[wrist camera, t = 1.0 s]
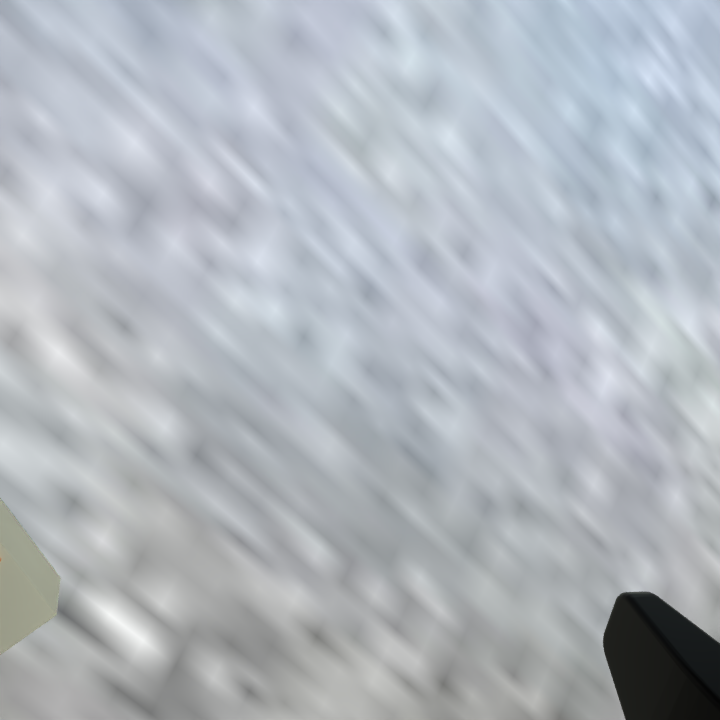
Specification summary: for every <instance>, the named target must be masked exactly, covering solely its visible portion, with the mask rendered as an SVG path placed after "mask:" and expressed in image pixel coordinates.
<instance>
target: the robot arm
mask: <svg viewBox="0 0 720 720" xmlns="http://www.w3.org/2000/svg"><path fill="white" fill-rule="evenodd" d="M603 647H604V652H605V656H606V659H607V662H608V666H609V669H610V672H611V675H612V678H613V681H614V684H615V688H616V691H617V694H618V697H619V700H620V703H621V706H622V710H623V713H624V716H625V719H626V720H720V643H719V642H717V641H716V640H715V639H713V638H712V637H711V636H709V635H708V634H707V633H705V632H704V631H703V630H702V629H700V628H699V627H698V626H696V625H695V624H694V623H692V622H691V621H690V620H688V619H687V618H686V617H684V616H683V615H682V614H680V613H679V612H678V611H676V610H675V609H674V608H672V607H671V606H670V605H669V604H667V603H666V602H665V601H663V600H662V599H661V598H659V597H658V596H656V595H655V594H653V593H650V592H624V593H621V594H620V595H619V596H618V597H617V599H616V601H615V604H614V607H613V610H612V612H611V615H610V618H609V621H608V624H607V627H606V629H605V632H604V637H603Z"/></svg>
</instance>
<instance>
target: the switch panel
mask: <svg viewBox="0 0 720 720" xmlns="http://www.w3.org/2000/svg"><path fill="white" fill-rule="evenodd" d="M59 587H60V576H59V575H58V574H57V573H56V571H55V570H54V569H53V567H52V566H51V565H50V563H49V562H48V561H47V559H46V558H45V557H44V555H43V554H42V553H41V551H40V550H39V549H38V547H37V546H36V545H35V543H34V542H33V541H32V539H31V538H30V537H29V535H28V534H27V533H26V532H25V530H24V529H23V528H22V526H21V525H20V524H19V522H18V521H17V520H16V518H15V517H14V516H13V514H12V513H11V512H10V510H9V509H8V508H7V506H6V505H5V504H4V502H3V501H2V500H1V498H0V655H1V654H2V653H4V652H5V651H7V650H8V649H9V648H11V647H12V646H14V645H15V644H16V643H18V642H19V641H21V640H22V639H23V638H25V637H26V636H28V635H29V634H30V633H32V632H33V631H35V630H36V629H37V628H39V627H40V626H42V625H43V624H45V623H46V622H47V621H49V620H50V619H52V618H53V617H54V616H56V615H57V606H58V596H59Z"/></svg>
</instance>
